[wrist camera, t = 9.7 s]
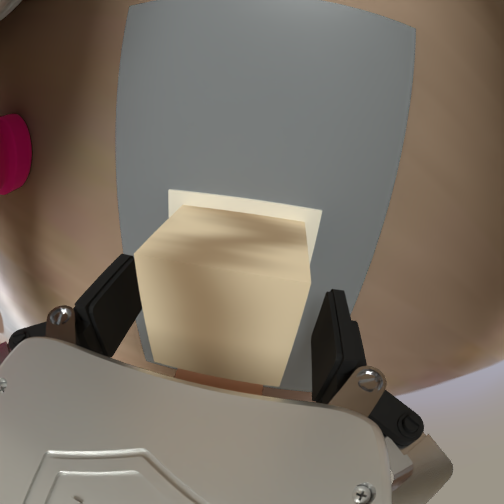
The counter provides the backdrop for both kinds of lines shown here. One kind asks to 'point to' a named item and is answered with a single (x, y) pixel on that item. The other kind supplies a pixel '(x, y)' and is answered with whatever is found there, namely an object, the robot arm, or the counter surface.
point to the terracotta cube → (219, 382)
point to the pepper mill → (14, 153)
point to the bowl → (7, 7)
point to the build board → (265, 129)
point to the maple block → (224, 292)
